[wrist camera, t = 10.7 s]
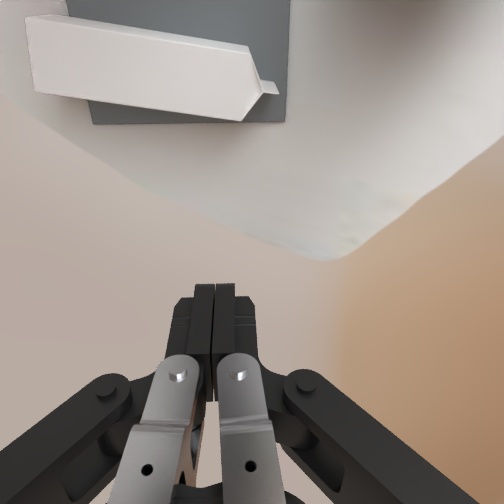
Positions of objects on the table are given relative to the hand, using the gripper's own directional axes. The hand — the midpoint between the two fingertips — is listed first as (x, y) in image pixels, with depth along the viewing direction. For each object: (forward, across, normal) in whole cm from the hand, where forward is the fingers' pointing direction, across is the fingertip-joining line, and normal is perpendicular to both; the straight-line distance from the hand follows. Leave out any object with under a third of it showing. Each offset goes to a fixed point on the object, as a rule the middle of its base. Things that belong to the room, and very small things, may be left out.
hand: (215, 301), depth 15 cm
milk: (+30, +17, -6) cm, 35 cm away
